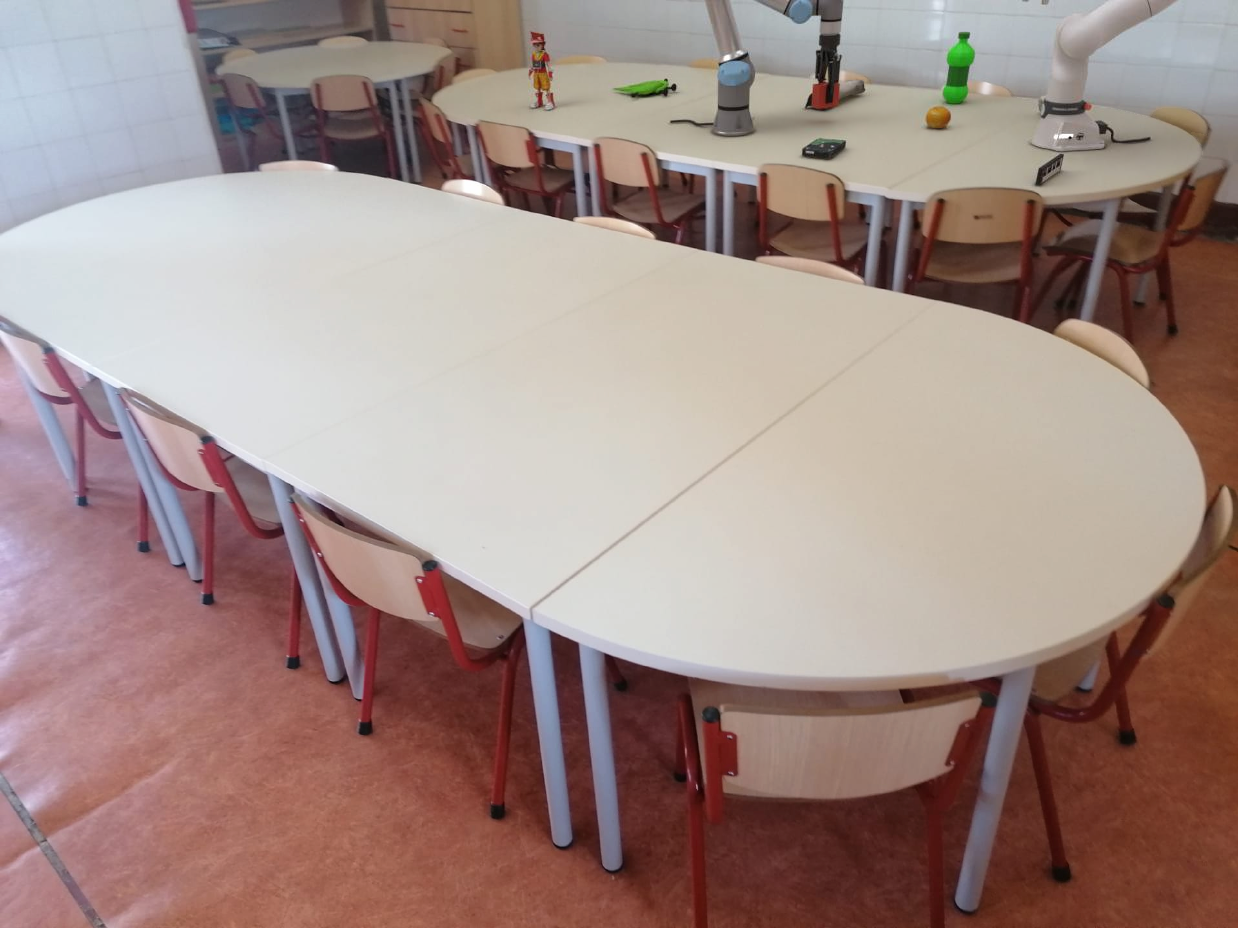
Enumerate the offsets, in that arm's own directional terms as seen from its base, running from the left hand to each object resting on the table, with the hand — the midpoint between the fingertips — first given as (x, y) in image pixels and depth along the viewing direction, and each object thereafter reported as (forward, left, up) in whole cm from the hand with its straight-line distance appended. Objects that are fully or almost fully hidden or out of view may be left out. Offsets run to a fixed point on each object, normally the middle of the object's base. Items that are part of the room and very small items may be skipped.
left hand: (825, 101), depth 336 cm
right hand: (+62, +35, +30) cm, 77 cm away
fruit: (+41, +6, -8) cm, 42 cm away
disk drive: (+14, -38, -8) cm, 41 cm away
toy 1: (-120, -15, -8) cm, 121 cm away
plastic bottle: (+37, +45, -8) cm, 59 cm away
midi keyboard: (+86, -40, -8) cm, 95 cm away
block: (0, 0, -2) cm, 2 cm away
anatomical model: (+76, +33, -8) cm, 83 cm away
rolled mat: (-6, +31, -8) cm, 33 cm away
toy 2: (-93, +23, -8) cm, 96 cm away
